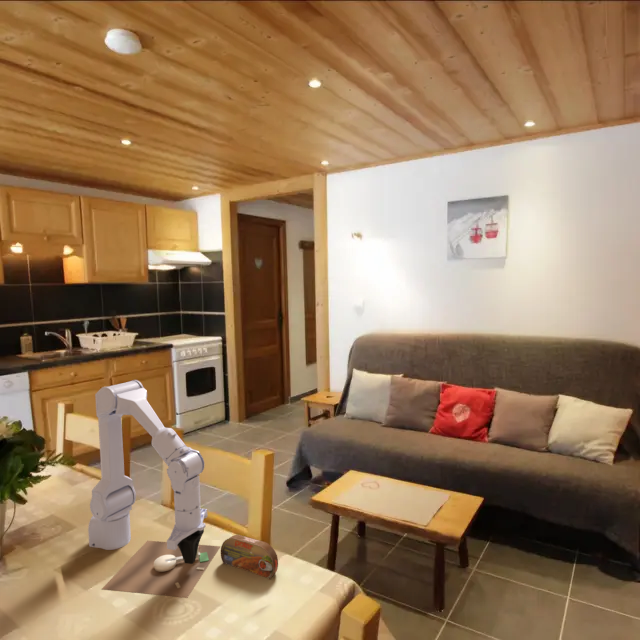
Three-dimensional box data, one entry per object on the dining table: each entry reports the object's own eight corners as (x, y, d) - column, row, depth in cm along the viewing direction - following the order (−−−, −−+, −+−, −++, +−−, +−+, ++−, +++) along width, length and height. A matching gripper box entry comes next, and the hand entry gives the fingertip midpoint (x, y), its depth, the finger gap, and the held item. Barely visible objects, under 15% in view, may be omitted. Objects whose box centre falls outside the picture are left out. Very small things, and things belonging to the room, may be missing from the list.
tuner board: (101, 595, 100) (101, 588, 100) (147, 546, 119) (147, 539, 119) (187, 604, 97) (187, 596, 97) (220, 552, 116) (220, 545, 115)
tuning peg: (154, 573, 105) (153, 552, 104) (154, 561, 109) (153, 541, 109) (201, 563, 108) (200, 543, 108) (199, 551, 113) (198, 532, 112)
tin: (220, 569, 109) (218, 535, 108) (228, 562, 112) (227, 529, 111) (273, 588, 102) (272, 551, 101) (280, 579, 105) (279, 544, 104)
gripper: (186, 523, 97) (189, 584, 98) (218, 492, 111) (219, 546, 112) (157, 519, 99) (160, 579, 100) (191, 490, 113) (193, 542, 114)
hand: (189, 561), depth 106 cm, fingers closed
